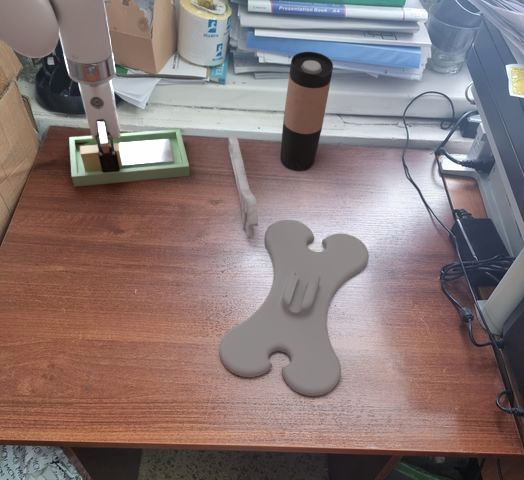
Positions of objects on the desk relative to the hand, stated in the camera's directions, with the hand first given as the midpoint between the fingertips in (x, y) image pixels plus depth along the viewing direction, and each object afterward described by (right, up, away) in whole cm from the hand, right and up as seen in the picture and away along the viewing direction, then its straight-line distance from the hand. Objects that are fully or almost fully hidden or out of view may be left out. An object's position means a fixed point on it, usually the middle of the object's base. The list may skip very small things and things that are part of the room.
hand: (109, 154), depth 96 cm
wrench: (+25, -7, +2) cm, 26 cm away
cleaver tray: (+3, +1, +5) cm, 6 cm away
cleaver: (+3, +1, +4) cm, 5 cm away
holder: (+35, -29, -11) cm, 47 cm away
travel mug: (+36, +2, +9) cm, 38 cm away
